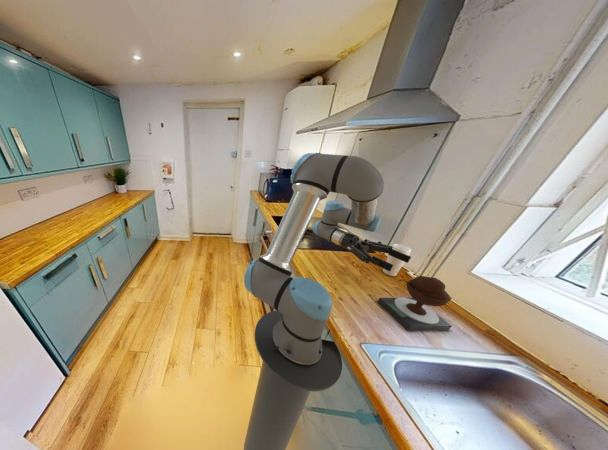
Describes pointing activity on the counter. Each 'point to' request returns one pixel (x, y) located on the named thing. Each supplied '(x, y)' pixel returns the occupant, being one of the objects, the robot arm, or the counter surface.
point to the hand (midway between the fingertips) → (400, 263)
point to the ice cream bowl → (426, 293)
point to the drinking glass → (394, 261)
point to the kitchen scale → (413, 315)
